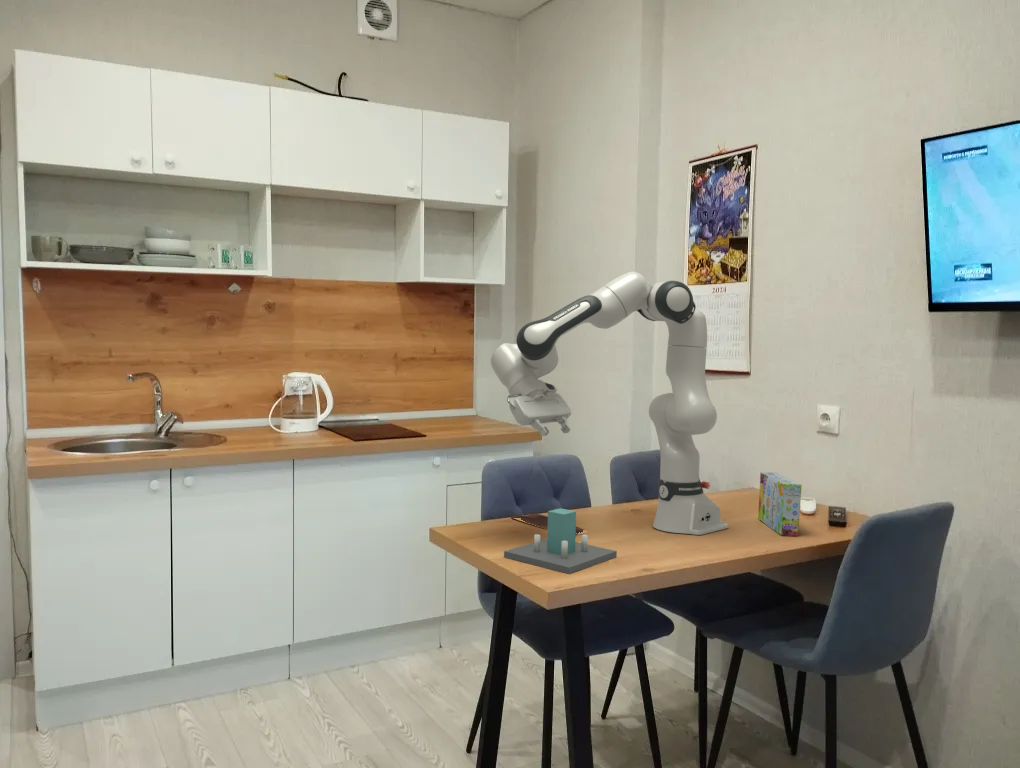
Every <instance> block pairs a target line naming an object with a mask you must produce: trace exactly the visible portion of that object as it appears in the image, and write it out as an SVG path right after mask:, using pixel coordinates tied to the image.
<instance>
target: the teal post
mask: <svg viewBox="0 0 1020 768" xmlns="http://www.w3.org/2000/svg"><path fill="white" fill-rule="evenodd" d="M547 516H548V530H547V534H546V536H547V537H546V539H547V551H549V552H553V553H557V554H561V546H562V541H568V553H571V552H574V551H575V542H576V536H577V535H576V527H577V511H576V510H571V509H565V508H555V509H551V510H548V511H547Z"/></svg>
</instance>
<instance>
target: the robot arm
mask: <svg viewBox="0 0 1020 768" xmlns="http://www.w3.org/2000/svg"><path fill="white" fill-rule="evenodd" d="M635 312H638V313H639V314H640V316H642V317H643V318H645V319H646V320H649V321H652V322H664V323H665V324H666V326H667V329H668V340H667V351H666V363H665V373H666V376H667V377H668V379H669V381H670V385H671V390H672V392H670V393H669V392H667V393H663V394H659V395H657V396H655V397H654V398H653V399H652V400H651V402H650V403H649V406H648V415H649V417H650V420H651V421H652V423H653V425H654V428H655V431H656V435H657V440H658V445H659V452H660V453H659V454H660V459H659V461H660V465H659V466H660V467H659V468H660V469H659V470H660V473H659V474H660V475H659V476H660V477H659V478H658V485H657V486H658V487H657V492H658V501H657V508H656V513H655V517H654V521H653V523H652V524H653V525H652V527H653V528H655V529H657V530H659V531H662V532H663V531H664V532H667V533H673V534H674V533H675V534H690V535H696V536H701V535H706V534H710V533H714V532H717V531H721V530H726V528H727V529H728V528H729V529H730V527H729V524H728V523H727V522H725V521H723V520H721V511H720V507H719V506H718V505H717V504H716V502H714V501H713V500H712V499H710V498H709V497H708V496H707V495H706V494H705V493H704V489H706V490H708V489H710V487H711V484H710V482H708V481H705V480H703V481H700V461H701V459H700V452H699V450H698V449H697V447H696V445H695V442H694V440H693V436H695V435H703V434H706V433H708V432H710V431H711V430H712V429H713V428H714V427H715V425H716V423H717V419H718V418H717V417H718V414H717V409H716V407H715V406H714V405H713V402H712V401H711V399H710V396H709V391H708V387H707V381H706V363H707V348H708V327H707V326H708V324H707V318H706V315H705V313H703V311H700V310H699V309H696V304H695V302H694V296H693V294H692V291H691V289H690V288H689V287H688V285H687V284H685V283H683V282H681V281H678V280H667V281H659V282H656V283H653V284H652V283H650V282H648V281H647V279H646V277H645V276H643V275H642V274H641V273H639V272H637V271H629V272H628V271H627V272H626V273H623V274H621V275H619V276H617V277H615V278H613V279H612V280H610V281H609V282H607V283H606V284H604V285H603V286H601V287H600V288H598V289H597V290H595V291H593V292H592V293H590V294H588V295H584V296H582V297H579V298H578V299H576V300H574V301H572V302H570V303H568V304H567V305H565V306H564V307H562V308H561V309H559V310H557V311H555V312H554V313H552V314H549V316H547V317H545V318H541V319H539V320H537V319H536V320H533V321H531V322H529V323H528V322H527V324H525V325H523V326H522V327H521V328H520V330H519V331H518V333H517V334H516V335H517V336H516V343H510V342H509V343H508V342H504V343H502V344H500V345H498V346H497V347H496V348H495V350H494V351H493V353H492V355H491V358H490V364H491V365H490V366H491V368H492V370H493V372H494V373H495V375H496V376H497V378H498V380H499V381H500V383H501V384H502V385H503V386H504V387H506V389H507V391H508V394H509V395H508V396H507V397H506V401H507V403H508V405H509V409H510V412H511V414H512V415H513V418H514V419H515V421H516V422H517V423H518V424H519V425H520V426H531V427H532V428H533V429H534V430H536V431H537V432H538V433H539V434H540V435H541V437H547V436H548V434H550V430H549V429H548V428H547V426H544V425H542V424H551V423H558V425H560V426H561V428H560V430H561V432H562V433H563V434H569V433H570V431H571V427H570V426H569V424H568V419H569V417H570V416H571V415H572V411H571V408H570V407H569V405H568V403H567V402H566V401H565V399H564V398H563V396H562V395H560V393H558V392H557V391H558V389H557V387H556V386H555V385H554V384H552V383H548V382H545V381H543V380H542V379H539V378H542V377H543V376H546V375H548V374H550V373H551V372H553V371H554V370H555V369H556V367H557V365H558V363H559V355H558V349H557V346H556V344H557V341H558V340H559V339H560V338H561V337H562V336H564V335H565V334H567V333H568V332H570V331H572V330H574V329H575V328H577V327H579V326H580V325H582V324H586V323H589V324H590V325H592V326H593V327H596V328H598V329H601V330H602V329H603V330H604V329H605V330H606V329H610V328H612V327H614V326H616V325H618V324H619V323H621V322H622V321H623V320H625V319H626V318H628V317H629V316H630V315H631V314H632V313H635Z"/></svg>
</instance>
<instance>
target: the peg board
mask: <svg viewBox="0 0 1020 768" xmlns="http://www.w3.org/2000/svg"><path fill="white" fill-rule="evenodd" d="M533 536H534V537H533V539H534V540H533V541H534V542H531V543H528V544H524V545H520V546H517V547H515V548H510V549H507V550H504V551H503V557H504V558H505V557H508V558H507V559H509V558H510V559H509V560H513V559H514V561H517V562H521V563H524V564H530V565H533V566H537V567H540V568H545V569H548V570H549V569H550V570H552V571H556V572H559V573H560V572H561V573H565V574H568V575H571V574H573V573H576V572H579V571H581V570H584V569H587V568H589V567H590V568H591V567H592V566H595V565H597V564H601V563H604V562H607V561H609V560H612V559H615V558H617V554H618V552H617V550H614V549H609V548H605V547H600V546H595V545H591V544H588V542H589V540H588V538H589V536H588V534H581V542H577V541H575V551H574V552H571V553H568V541H562V546H561V554H557V553H553V552H549V551H547V538H545V539H541V534H534V535H533Z"/></svg>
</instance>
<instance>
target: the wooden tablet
mask: <svg viewBox="0 0 1020 768" xmlns="http://www.w3.org/2000/svg"><path fill="white" fill-rule="evenodd" d="M510 518H521V520H523V521H525V522H527V523H530V524H533V525H536V526H539V527H538V528H540V527H542V528H541V529H543V528H545V529H544V530H547V529H548V515H543V514H540V513H533V512H532V513H529V514H527V515H522V514H521V515H513V516H511V517H510ZM533 525H532V526H533ZM536 526H535V527H536ZM583 530H585V529H584V528H582V527H580V526H576V533H577V534H578V533H579V532H580V533H581V532H583Z"/></svg>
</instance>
